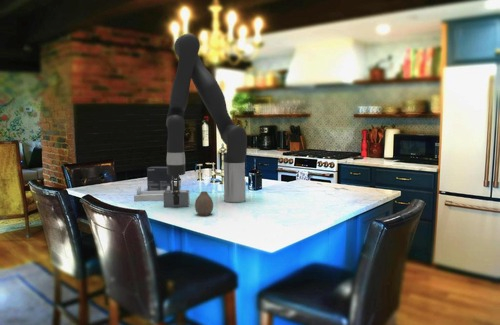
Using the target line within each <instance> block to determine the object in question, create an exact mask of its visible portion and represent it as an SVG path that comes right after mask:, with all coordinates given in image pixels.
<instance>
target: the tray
mask: <svg viewBox="0 0 500 325" xmlns="http://www.w3.org/2000/svg"><path fill="white" fill-rule="evenodd" d="M168 190H170V186H167V191H168ZM164 192H165V191H147V190H142V188H141V186H138V187H137V188H136V194H134V195H133V202H150V201H151V202H159V201H163V202H164Z"/></svg>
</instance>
